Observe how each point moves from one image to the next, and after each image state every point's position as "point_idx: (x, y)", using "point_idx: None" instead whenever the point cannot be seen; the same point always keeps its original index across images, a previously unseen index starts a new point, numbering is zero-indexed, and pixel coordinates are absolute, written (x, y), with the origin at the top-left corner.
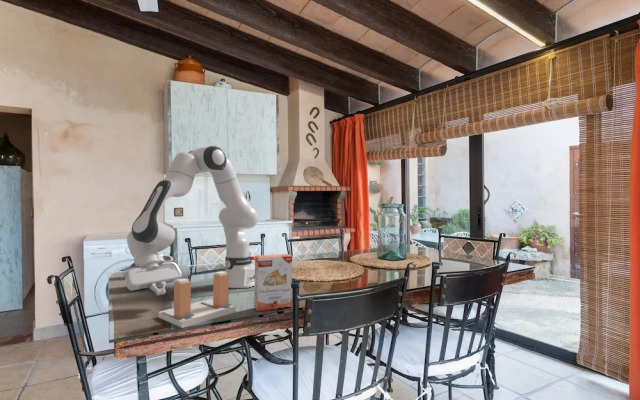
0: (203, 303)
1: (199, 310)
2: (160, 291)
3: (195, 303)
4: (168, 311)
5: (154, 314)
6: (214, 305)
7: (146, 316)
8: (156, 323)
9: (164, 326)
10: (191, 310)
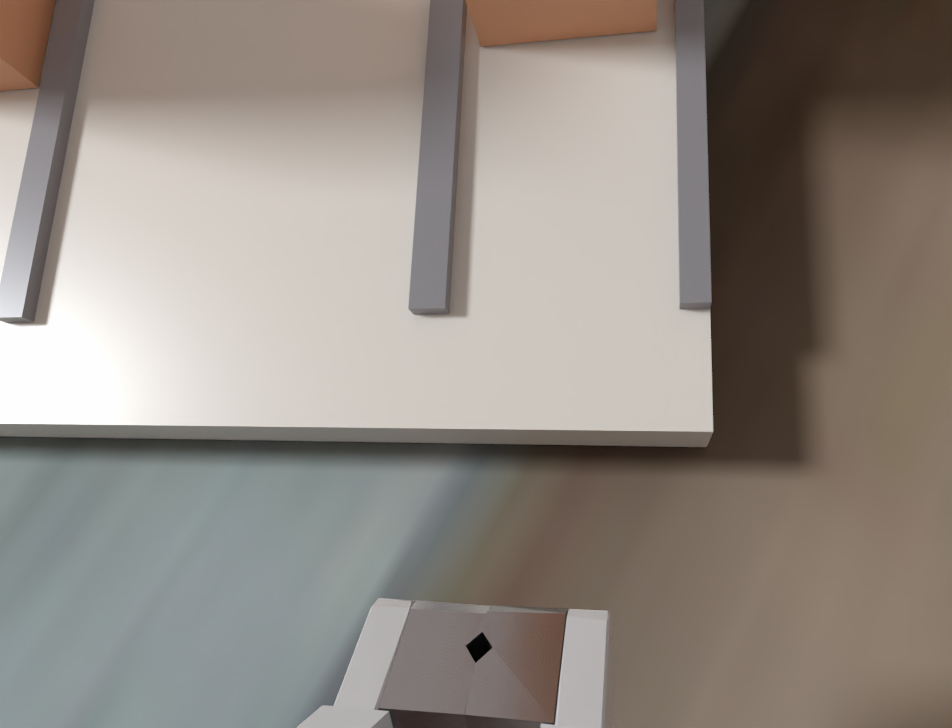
0: (37, 245)
1: (264, 43)
2: (530, 626)
3: (71, 383)
4: (580, 316)
5: (673, 650)
6: (34, 53)
7: (827, 661)
8: (858, 208)
9: (829, 25)
10: (327, 116)
